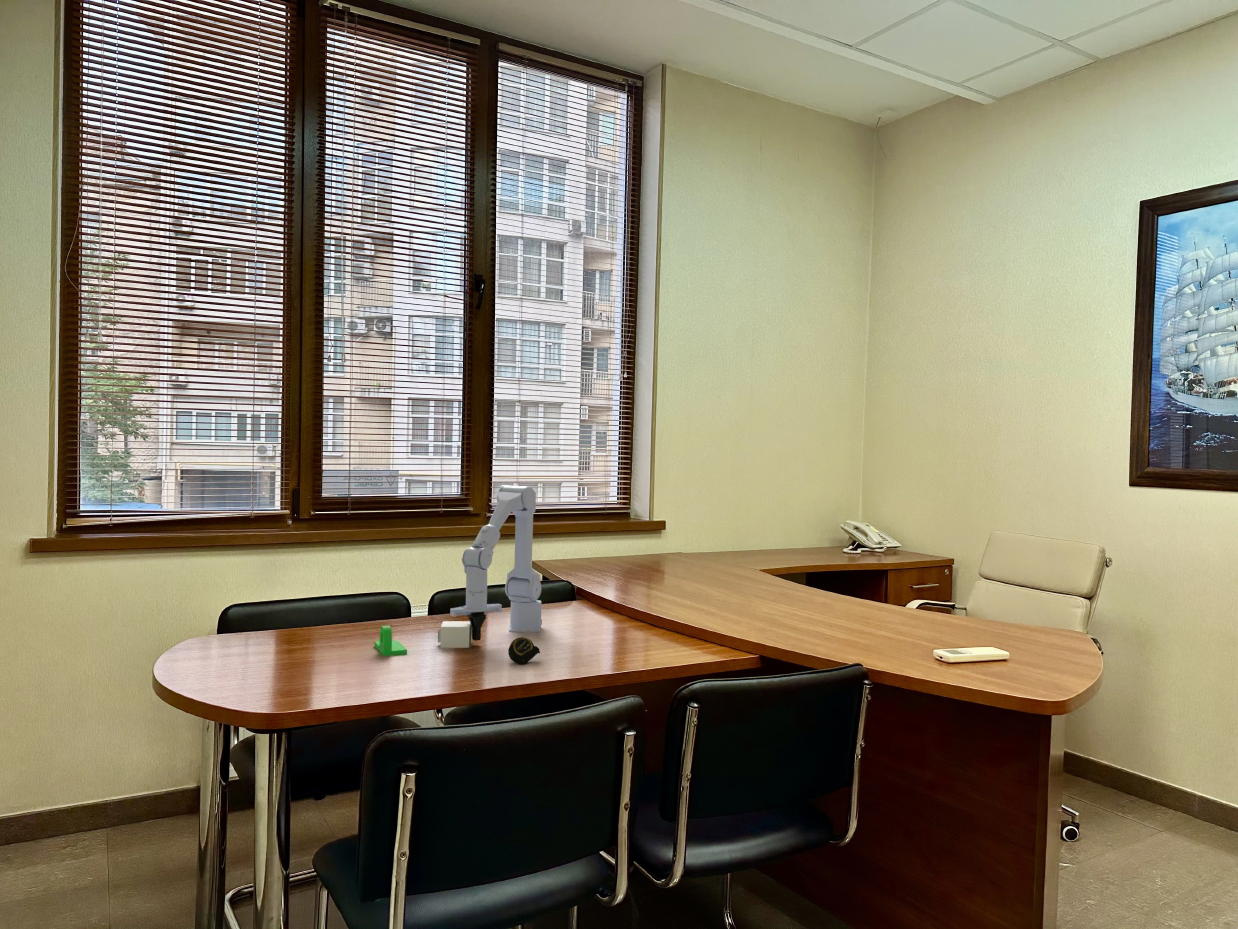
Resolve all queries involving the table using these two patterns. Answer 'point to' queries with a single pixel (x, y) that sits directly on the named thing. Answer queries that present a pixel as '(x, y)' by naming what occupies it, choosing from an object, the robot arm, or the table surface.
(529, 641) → the tape measure
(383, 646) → the mechanical part
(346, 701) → the table surface
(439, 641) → the steel pin
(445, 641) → the white block
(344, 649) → the table surface
